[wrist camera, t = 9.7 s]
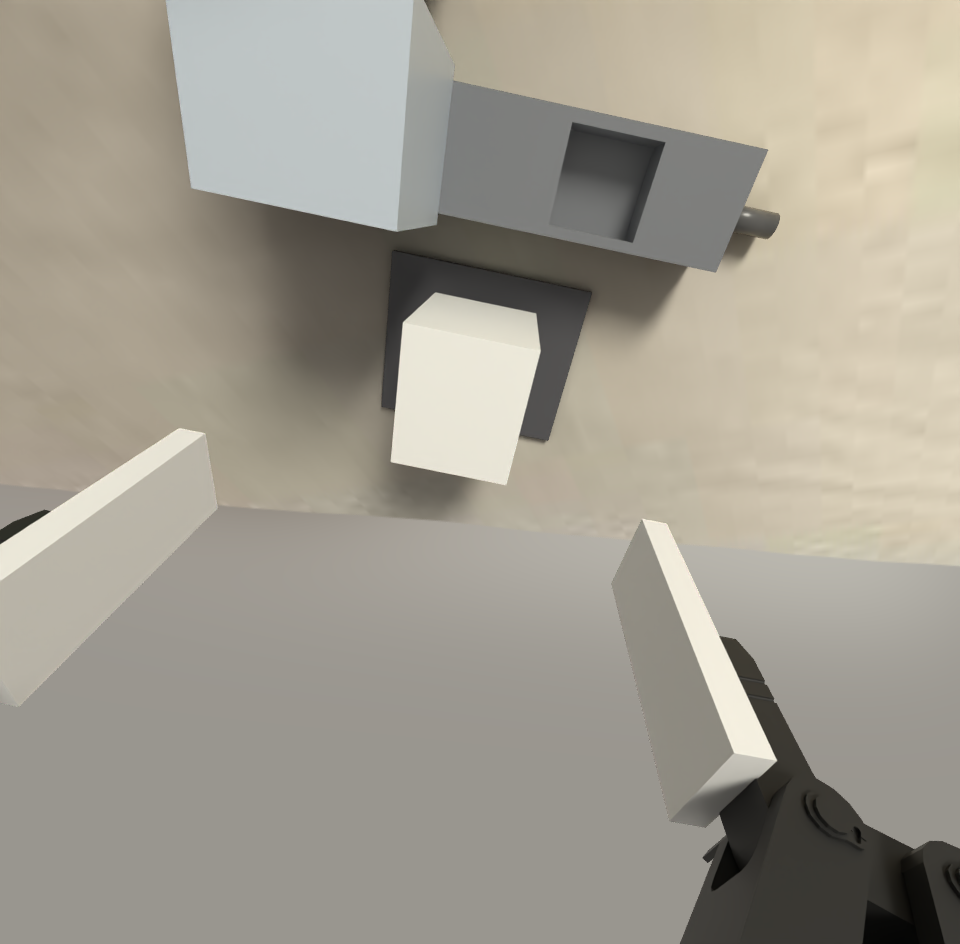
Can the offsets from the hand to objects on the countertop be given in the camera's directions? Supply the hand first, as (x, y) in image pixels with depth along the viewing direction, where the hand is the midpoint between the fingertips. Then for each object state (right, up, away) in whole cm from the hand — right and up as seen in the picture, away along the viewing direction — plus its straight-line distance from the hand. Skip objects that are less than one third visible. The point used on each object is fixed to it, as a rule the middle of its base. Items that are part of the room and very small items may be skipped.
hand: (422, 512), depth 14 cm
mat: (+2, +9, +15) cm, 18 cm away
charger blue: (-3, +17, +8) cm, 19 cm away
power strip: (+4, +17, +10) cm, 20 cm away
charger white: (+2, +9, +15) cm, 17 cm away
